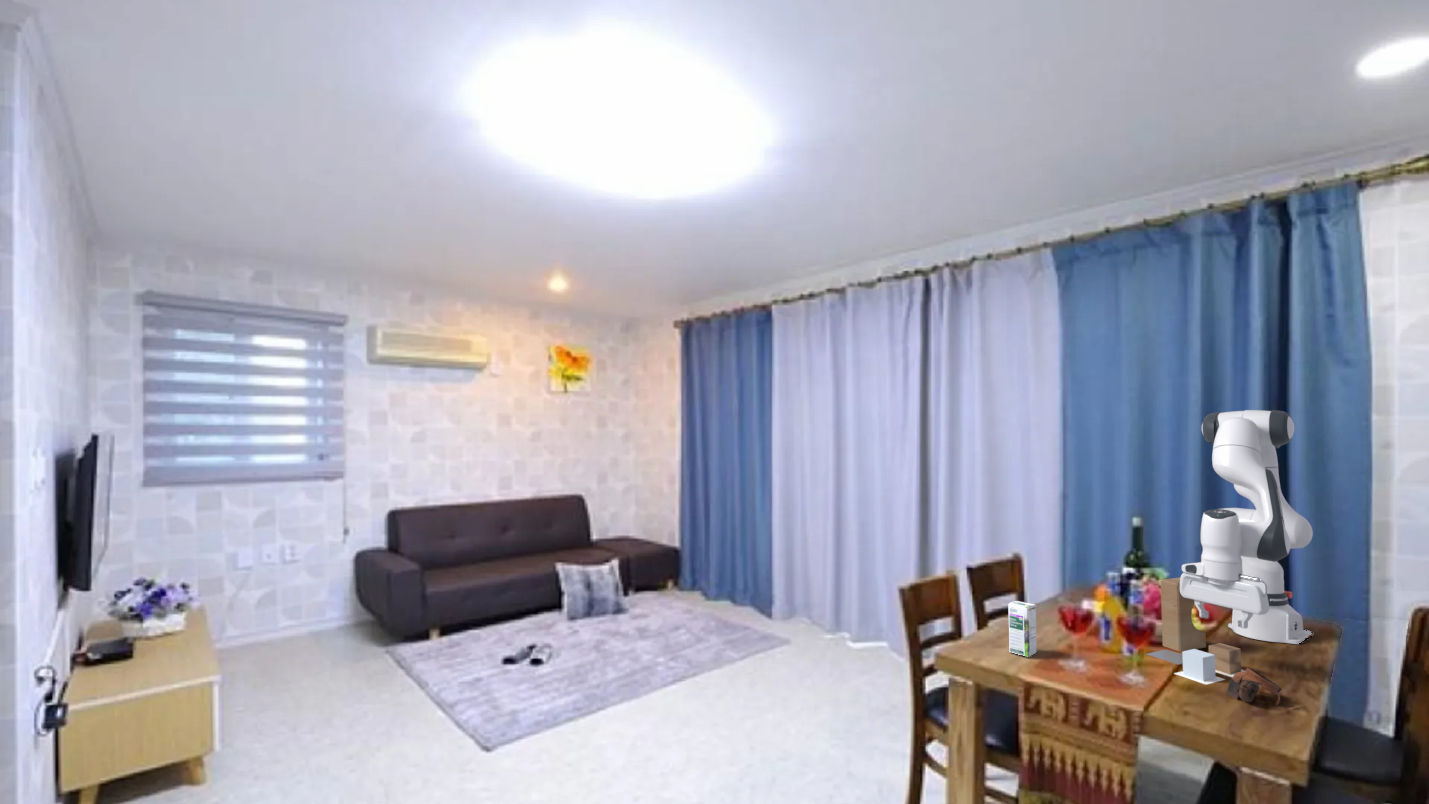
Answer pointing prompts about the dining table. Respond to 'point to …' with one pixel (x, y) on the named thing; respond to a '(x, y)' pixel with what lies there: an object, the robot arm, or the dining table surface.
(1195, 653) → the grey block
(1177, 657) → the slate coaster
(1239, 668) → the walnut block
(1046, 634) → the dining table surface
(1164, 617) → the decorative block
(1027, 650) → the syrup box
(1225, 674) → the code tile
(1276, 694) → the camera in leather case
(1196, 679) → the code tile
